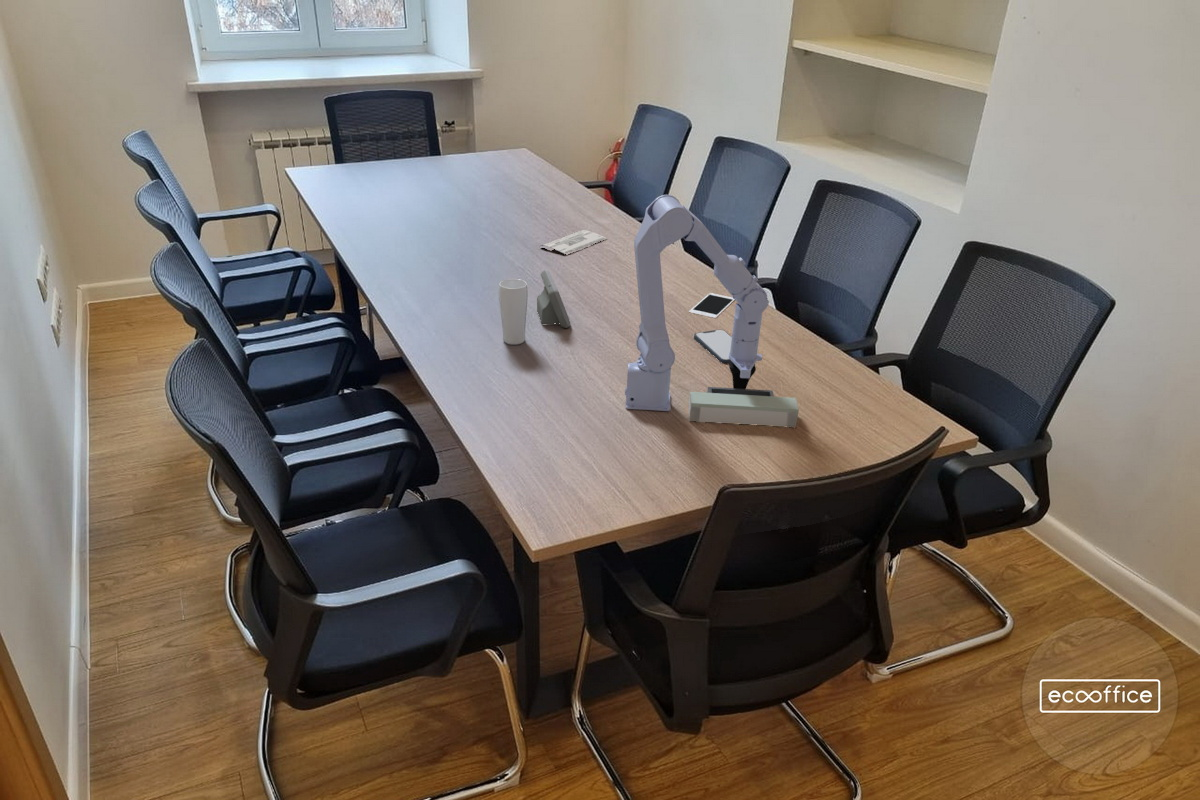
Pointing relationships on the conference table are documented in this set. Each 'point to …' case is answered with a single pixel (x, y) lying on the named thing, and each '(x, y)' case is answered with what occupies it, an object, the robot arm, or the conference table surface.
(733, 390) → the shell tray
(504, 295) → the drinking glass
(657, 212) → the robot arm
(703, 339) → the smartphone
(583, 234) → the newspaper
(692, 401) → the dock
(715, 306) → the cell phone
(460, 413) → the conference table surface
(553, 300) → the digital clock
